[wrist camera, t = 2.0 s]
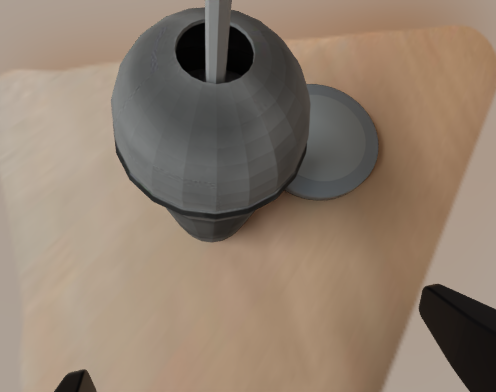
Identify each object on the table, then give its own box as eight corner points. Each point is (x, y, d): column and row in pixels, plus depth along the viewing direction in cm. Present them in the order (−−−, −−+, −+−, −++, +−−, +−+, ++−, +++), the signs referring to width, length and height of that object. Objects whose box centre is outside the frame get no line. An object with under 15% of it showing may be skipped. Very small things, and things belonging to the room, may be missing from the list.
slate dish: (377, 202, 25) (385, 197, 24) (255, 197, 24) (257, 191, 23) (365, 97, 28) (372, 87, 27) (255, 89, 27) (257, 79, 26)
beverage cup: (260, 161, 25) (410, -276, 6) (267, 261, 23) (527, 36, 4) (159, 161, 24) (-10, -340, 6) (156, 265, 22) (-144, 10, 3)
